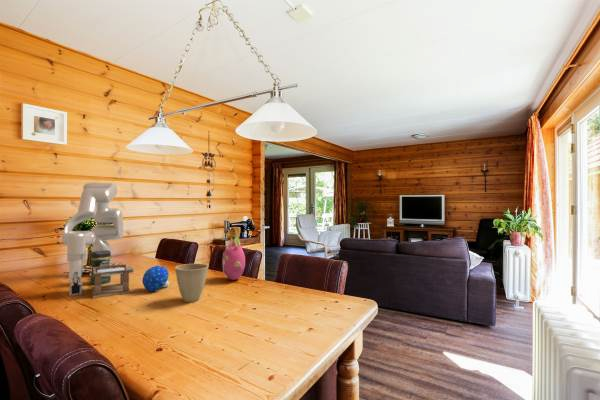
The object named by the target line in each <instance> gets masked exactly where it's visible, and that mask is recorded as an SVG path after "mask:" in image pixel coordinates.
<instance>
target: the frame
mask: <svg viewBox="0 0 600 400" xmlns="http://www.w3.org/2000/svg"><path fill="white" fill-rule="evenodd" d="M121 267H124V268H125V267H127V264H126V263H123V264H115V265H110V266H103V267H93V273H94V276H95V280H94V285H93V287H92V299H98V298H99V299H101V298H105V297H113V296H119V295H125V294H131V288H130V284H129V283H130V273H129V269H126V270H119V271H110V272H98V273H97V270H100V269H106V268H110V269H112V268H121ZM114 273H123V274H119V277H120V278H119V279H120V281H119V283H115V284H107V285H106V284H105V285H102V284H101V275H105V274H114Z"/></svg>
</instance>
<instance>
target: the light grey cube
mask: <svg viewBox="0 0 600 400" xmlns="http://www.w3.org/2000/svg"><path fill="white" fill-rule="evenodd" d="M79 285H80V293H76V294H72V283H69V296H70V297H71V295H72V296H78V294H79V295H83V281H80V282H79Z"/></svg>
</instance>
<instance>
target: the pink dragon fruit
mask: <svg viewBox="0 0 600 400" xmlns="http://www.w3.org/2000/svg"><path fill="white" fill-rule="evenodd" d="M221 262H222V272H223V278H226V277H227V278H228V279H229V280H231V281H236V280H238V279H239V278H241V276H242V275H243V273H244V270H245V267H246V256H245V252H244V250H243V248H242V246H241V243H240V237H239V232H238V229H236V230H235V235H234V239H233V237H230V240H229V245H226V246H225V250H224V251H223V253H222V261H221Z"/></svg>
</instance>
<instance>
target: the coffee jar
mask: <svg viewBox="0 0 600 400" xmlns="http://www.w3.org/2000/svg"><path fill="white" fill-rule="evenodd" d="M111 253H112V252H111V250H110V251H108V250H101V251H94V252H93V251H92V252H91V256H90V260H91V272H90V273H91V276H90V281H89V282H90V284H91V285H93V286H94V280H95V276H94V273H93V267H103V266H111V258H112V254H111ZM106 269H111V268H106ZM100 270H102V269H100ZM111 276H112V275H107V276H101V285H102V284H108V283H110V282H111V281H112V280H111Z"/></svg>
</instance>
